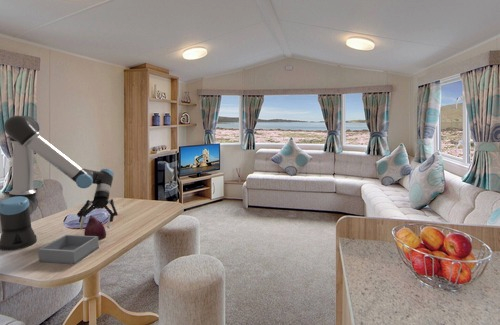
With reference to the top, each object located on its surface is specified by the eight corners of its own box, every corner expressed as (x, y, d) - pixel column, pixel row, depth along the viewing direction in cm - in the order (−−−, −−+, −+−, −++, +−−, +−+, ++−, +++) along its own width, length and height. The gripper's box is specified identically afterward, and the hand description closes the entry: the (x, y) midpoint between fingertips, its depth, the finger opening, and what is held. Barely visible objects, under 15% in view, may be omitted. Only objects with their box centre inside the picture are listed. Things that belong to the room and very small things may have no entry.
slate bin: (39, 262, 129) (38, 249, 128) (67, 245, 146) (66, 234, 145) (74, 264, 127) (73, 251, 126) (98, 247, 144) (98, 236, 143)
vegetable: (97, 247, 151) (93, 224, 145) (80, 243, 153) (76, 219, 147) (110, 235, 161) (108, 213, 155) (94, 231, 162) (91, 209, 156)
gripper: (126, 195, 171) (121, 229, 159) (81, 197, 167) (71, 231, 155) (123, 189, 165) (117, 223, 153) (76, 190, 161) (66, 225, 149)
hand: (94, 227), depth 154 cm, fingers open, 13 cm apart
